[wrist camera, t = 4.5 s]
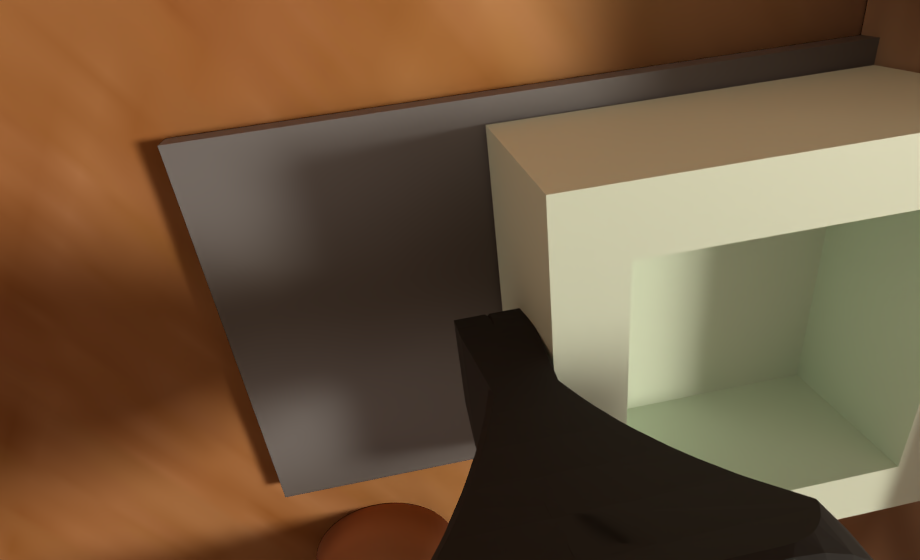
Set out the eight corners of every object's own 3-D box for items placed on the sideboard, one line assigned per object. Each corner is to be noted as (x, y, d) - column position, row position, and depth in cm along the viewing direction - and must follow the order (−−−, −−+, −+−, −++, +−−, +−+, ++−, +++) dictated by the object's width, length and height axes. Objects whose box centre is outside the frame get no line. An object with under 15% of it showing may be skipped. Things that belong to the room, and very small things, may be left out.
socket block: (806, 379, 16) (938, 496, 12) (514, 438, 15) (563, 581, 11) (874, 64, 12) (1092, 104, 8) (485, 125, 11) (545, 195, 8)
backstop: (837, 445, 18) (1036, 639, 13) (314, 557, 17) (296, 827, 11) (995, -154, 11) (1594, -271, 6) (100, -45, 9) (-214, -66, 4)
